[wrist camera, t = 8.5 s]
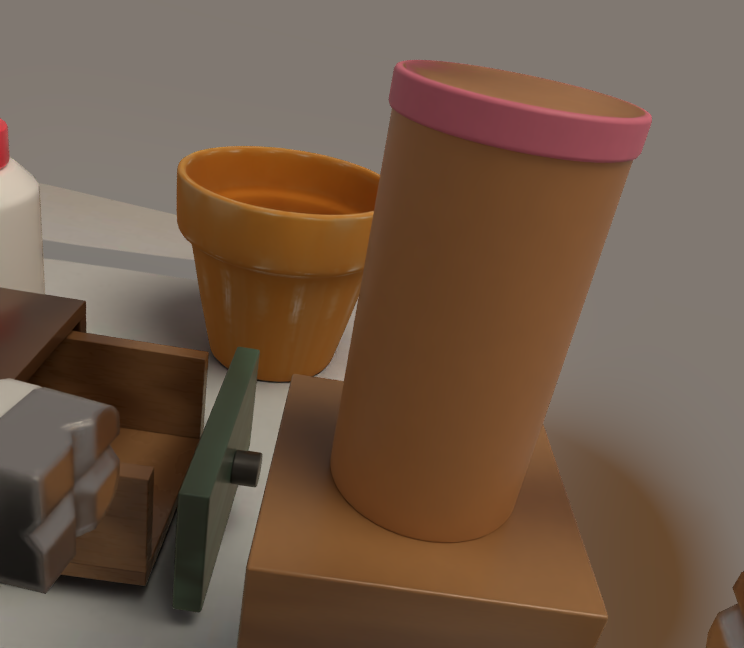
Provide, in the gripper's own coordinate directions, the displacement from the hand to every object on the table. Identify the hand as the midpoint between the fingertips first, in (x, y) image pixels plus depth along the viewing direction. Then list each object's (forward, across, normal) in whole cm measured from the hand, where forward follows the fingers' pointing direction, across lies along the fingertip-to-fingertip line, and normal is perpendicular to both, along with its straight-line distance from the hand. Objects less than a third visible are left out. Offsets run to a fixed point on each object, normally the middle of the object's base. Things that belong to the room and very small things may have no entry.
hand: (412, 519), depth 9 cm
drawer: (+17, -14, -19) cm, 29 cm away
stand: (+8, 0, -19) cm, 21 cm away
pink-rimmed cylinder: (+8, 0, -5) cm, 10 cm away
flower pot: (+36, -11, -20) cm, 42 cm away
